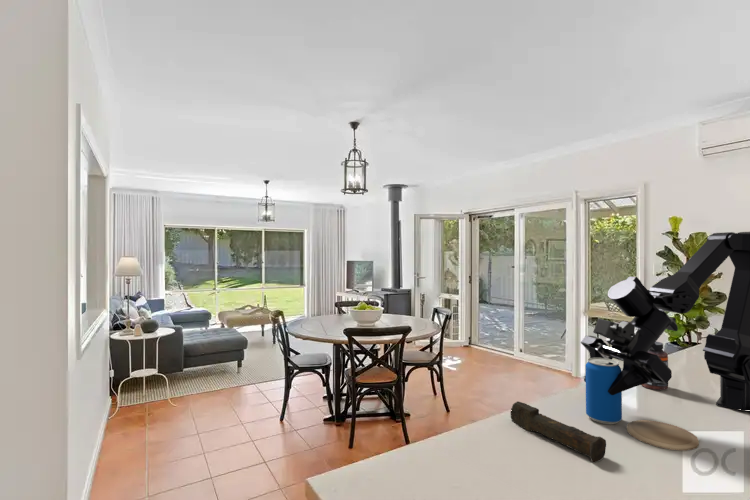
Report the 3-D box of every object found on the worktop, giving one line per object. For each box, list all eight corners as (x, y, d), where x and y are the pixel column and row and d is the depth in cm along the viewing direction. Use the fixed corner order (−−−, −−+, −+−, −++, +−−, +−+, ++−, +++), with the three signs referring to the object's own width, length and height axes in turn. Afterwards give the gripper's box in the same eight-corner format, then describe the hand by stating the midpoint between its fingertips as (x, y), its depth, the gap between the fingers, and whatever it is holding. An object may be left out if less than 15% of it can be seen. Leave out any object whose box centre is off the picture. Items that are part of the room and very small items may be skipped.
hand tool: (608, 459, 68) (608, 432, 68) (593, 465, 66) (593, 437, 66) (520, 418, 84) (520, 396, 84) (506, 422, 82) (506, 400, 83)
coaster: (637, 418, 83) (637, 415, 83) (705, 436, 75) (705, 433, 75) (618, 434, 76) (618, 431, 76) (690, 457, 67) (690, 453, 67)
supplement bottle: (638, 381, 106) (637, 338, 106) (665, 384, 103) (665, 340, 103) (641, 388, 100) (641, 343, 100) (670, 392, 98) (670, 346, 98)
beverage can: (621, 428, 78) (621, 367, 78) (584, 421, 82) (584, 362, 82) (622, 416, 84) (621, 359, 84) (587, 410, 87) (586, 355, 87)
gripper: (587, 300, 93) (544, 350, 91) (658, 312, 74) (606, 376, 72) (617, 332, 94) (576, 382, 92) (694, 352, 76) (644, 415, 74)
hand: (597, 387), depth 83 cm, fingers closed on beverage can, 6 cm apart
